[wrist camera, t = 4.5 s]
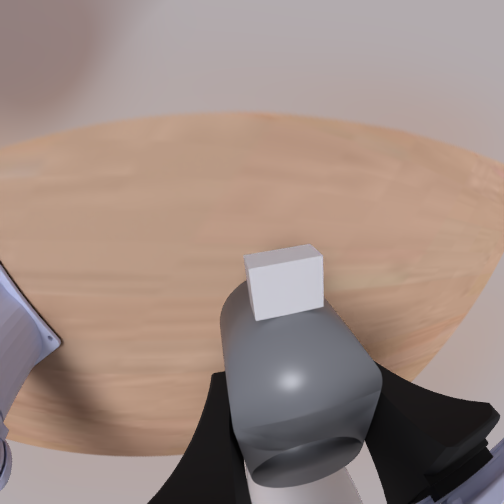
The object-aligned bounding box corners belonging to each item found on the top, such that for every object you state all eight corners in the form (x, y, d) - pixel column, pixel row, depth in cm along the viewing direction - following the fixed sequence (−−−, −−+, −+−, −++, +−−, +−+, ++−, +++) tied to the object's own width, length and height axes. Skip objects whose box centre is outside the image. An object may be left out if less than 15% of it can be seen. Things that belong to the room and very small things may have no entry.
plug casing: (202, 241, 10) (200, 321, 5) (321, 222, 10) (403, 277, 6) (242, 416, 13) (258, 494, 9) (320, 398, 14) (352, 468, 9)
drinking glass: (237, 416, 23) (265, 557, 9) (223, 369, 21) (252, 551, 7) (306, 401, 24) (360, 532, 10) (305, 352, 22) (384, 514, 8)
